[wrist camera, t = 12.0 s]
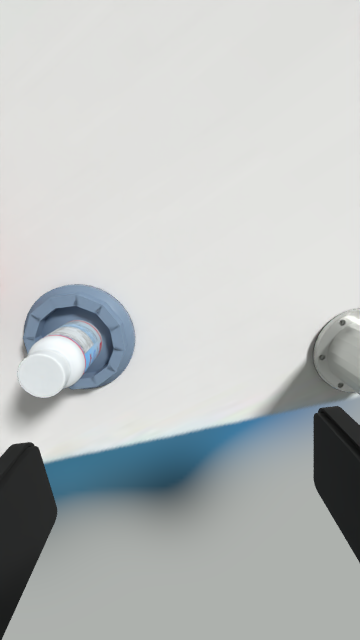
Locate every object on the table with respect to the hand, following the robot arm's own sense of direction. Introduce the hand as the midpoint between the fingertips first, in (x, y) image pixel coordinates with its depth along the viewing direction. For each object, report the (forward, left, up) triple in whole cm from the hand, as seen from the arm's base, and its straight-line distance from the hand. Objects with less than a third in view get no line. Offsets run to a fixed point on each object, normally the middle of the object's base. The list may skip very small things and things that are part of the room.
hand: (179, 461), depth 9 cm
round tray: (+14, +3, -28) cm, 32 cm away
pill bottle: (+14, +3, -27) cm, 31 cm away
